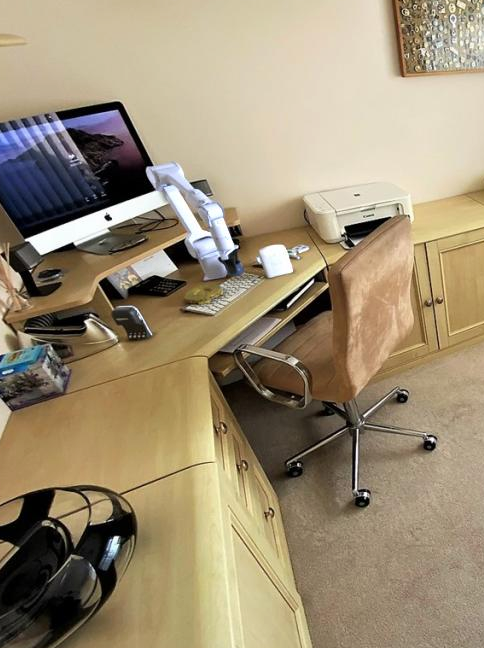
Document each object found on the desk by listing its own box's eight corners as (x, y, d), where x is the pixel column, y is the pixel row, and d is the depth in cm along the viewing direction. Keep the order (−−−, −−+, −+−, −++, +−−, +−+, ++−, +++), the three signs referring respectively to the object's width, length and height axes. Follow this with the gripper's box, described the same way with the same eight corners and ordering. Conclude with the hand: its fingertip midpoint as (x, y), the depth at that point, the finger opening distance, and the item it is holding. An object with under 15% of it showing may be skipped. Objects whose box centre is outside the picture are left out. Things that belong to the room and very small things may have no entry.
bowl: (229, 272, 166) (225, 261, 164) (245, 269, 168) (241, 259, 165) (227, 278, 162) (223, 267, 159) (243, 275, 163) (239, 264, 161)
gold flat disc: (204, 306, 154) (201, 301, 153) (179, 302, 157) (176, 297, 156) (230, 291, 163) (228, 286, 162) (206, 287, 166) (203, 282, 165)
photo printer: (292, 269, 178) (283, 241, 171) (294, 272, 175) (285, 244, 168) (265, 275, 174) (255, 247, 167) (267, 279, 171) (257, 251, 164)
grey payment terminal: (125, 342, 136) (105, 311, 130) (133, 335, 139) (114, 305, 133) (147, 341, 136) (128, 310, 130) (154, 334, 140) (137, 304, 133)
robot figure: (272, 269, 178) (317, 251, 193) (270, 262, 176) (315, 244, 191) (251, 261, 186) (295, 244, 201) (248, 254, 184) (293, 237, 199)
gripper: (230, 241, 152) (244, 275, 159) (235, 228, 163) (248, 260, 171) (208, 244, 150) (223, 279, 157) (215, 231, 161) (228, 263, 169)
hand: (235, 269), depth 164 cm, fingers closed on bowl, 5 cm apart
